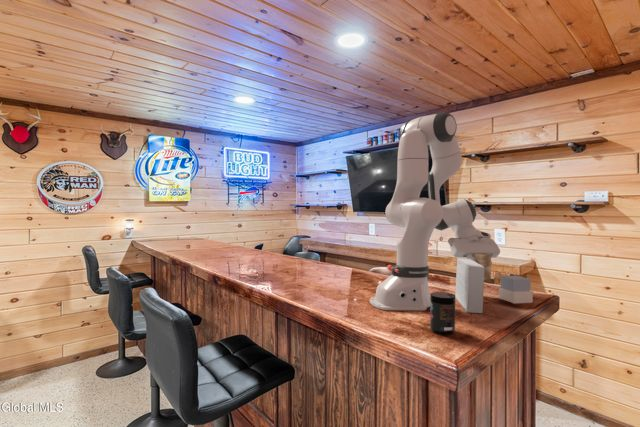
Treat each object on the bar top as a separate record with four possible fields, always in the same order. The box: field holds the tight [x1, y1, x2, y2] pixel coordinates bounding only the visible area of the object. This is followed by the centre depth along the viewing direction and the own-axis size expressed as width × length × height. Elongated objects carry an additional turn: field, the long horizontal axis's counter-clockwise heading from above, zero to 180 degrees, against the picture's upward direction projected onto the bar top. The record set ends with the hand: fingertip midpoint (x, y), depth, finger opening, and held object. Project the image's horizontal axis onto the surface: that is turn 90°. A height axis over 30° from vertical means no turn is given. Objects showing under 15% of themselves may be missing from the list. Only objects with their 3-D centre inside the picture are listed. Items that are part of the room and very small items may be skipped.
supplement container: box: [429, 291, 456, 336], centre depth 95 cm, size 7×7×10 cm
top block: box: [500, 275, 531, 292], centre depth 129 cm, size 7×7×4 cm
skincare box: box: [454, 258, 485, 314], centre depth 122 cm, size 21×5×16 cm, turn 168°
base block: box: [498, 286, 534, 304], centre depth 129 cm, size 8×8×4 cm
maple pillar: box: [473, 254, 492, 281], centre depth 134 cm, size 5×5×10 cm
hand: (483, 264), depth 134 cm, fingers closed on maple pillar, 5 cm apart
